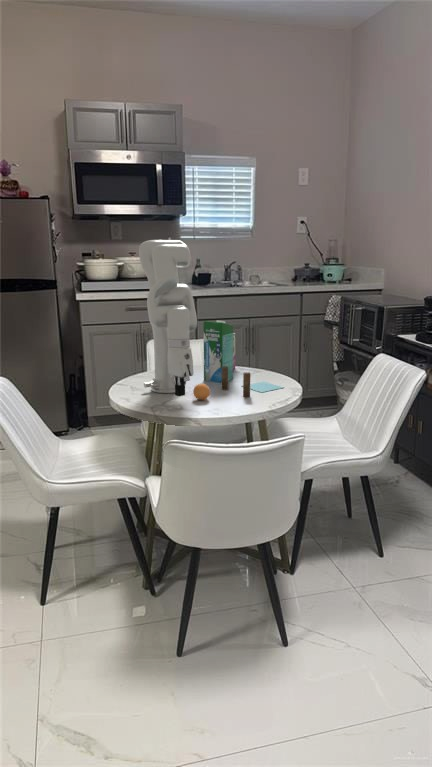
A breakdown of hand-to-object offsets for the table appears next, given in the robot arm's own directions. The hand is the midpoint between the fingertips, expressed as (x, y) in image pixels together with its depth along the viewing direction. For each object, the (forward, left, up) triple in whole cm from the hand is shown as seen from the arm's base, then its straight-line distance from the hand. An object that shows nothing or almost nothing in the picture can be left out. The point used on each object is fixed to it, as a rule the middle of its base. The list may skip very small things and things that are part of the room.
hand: (180, 395), depth 185 cm
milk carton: (+34, +22, -4) cm, 40 cm away
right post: (+26, -6, -4) cm, 27 cm away
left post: (+26, +8, -4) cm, 27 cm away
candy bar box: (+48, +33, -4) cm, 58 cm away
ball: (+10, +1, -1) cm, 10 cm away
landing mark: (+40, +1, -4) cm, 40 cm away
